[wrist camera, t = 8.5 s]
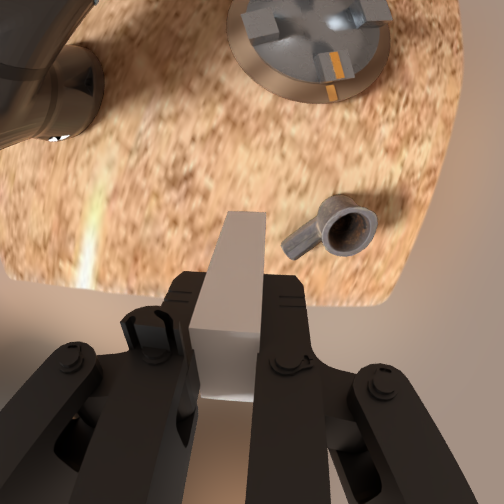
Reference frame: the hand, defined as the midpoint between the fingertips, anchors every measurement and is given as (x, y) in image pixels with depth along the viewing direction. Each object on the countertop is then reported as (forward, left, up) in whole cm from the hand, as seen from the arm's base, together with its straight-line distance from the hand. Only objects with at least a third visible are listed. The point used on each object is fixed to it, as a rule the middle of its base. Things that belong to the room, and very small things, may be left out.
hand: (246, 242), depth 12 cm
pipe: (+13, -2, -28) cm, 31 cm away
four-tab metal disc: (-7, +15, -26) cm, 31 cm away
